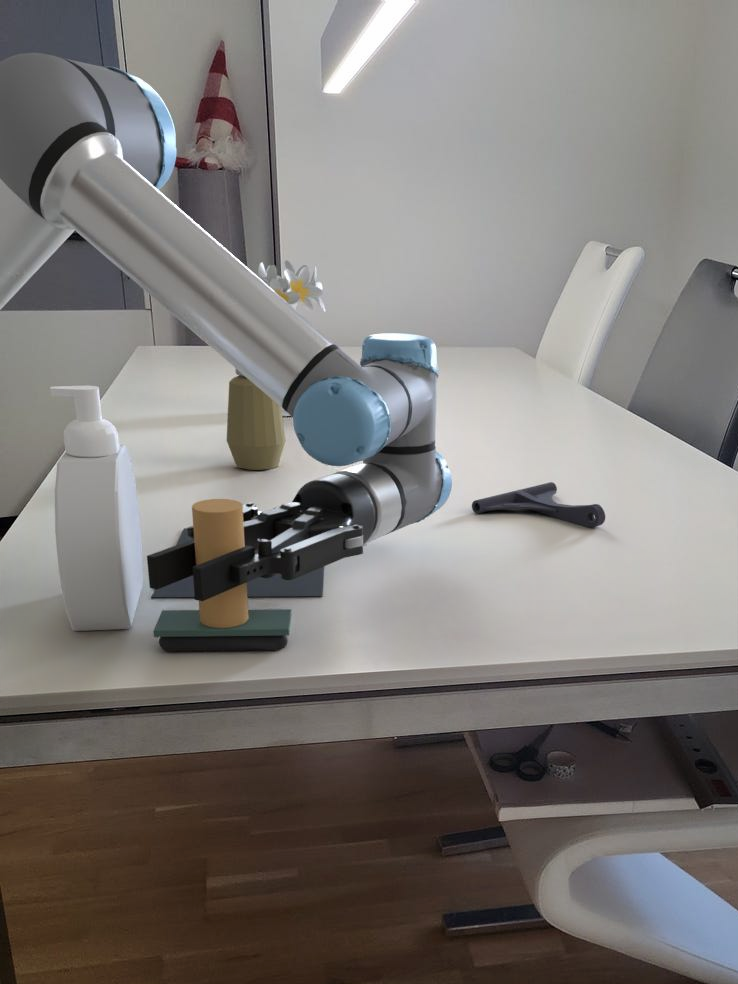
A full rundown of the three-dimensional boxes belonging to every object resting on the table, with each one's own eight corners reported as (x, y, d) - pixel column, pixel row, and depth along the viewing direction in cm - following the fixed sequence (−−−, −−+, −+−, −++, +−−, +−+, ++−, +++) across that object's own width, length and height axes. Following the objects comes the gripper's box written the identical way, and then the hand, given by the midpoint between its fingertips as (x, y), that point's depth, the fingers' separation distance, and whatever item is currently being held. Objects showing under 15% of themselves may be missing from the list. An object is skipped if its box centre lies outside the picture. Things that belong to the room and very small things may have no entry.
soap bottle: (89, 578, 102) (65, 372, 94) (145, 577, 103) (126, 372, 95) (62, 642, 87) (32, 405, 79) (128, 640, 88) (104, 405, 80)
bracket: (562, 540, 119) (564, 517, 118) (471, 511, 129) (472, 490, 127) (636, 519, 129) (639, 497, 128) (547, 494, 138) (548, 473, 137)
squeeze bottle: (258, 456, 151) (253, 329, 144) (298, 466, 147) (294, 335, 140) (215, 466, 145) (207, 333, 138) (255, 476, 140) (249, 339, 133)
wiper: (155, 655, 86) (142, 513, 81) (164, 633, 90) (152, 497, 85) (289, 653, 87) (284, 513, 82) (292, 632, 91) (287, 498, 87)
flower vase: (253, 425, 171) (246, 265, 161) (252, 404, 188) (245, 258, 178) (332, 424, 174) (330, 267, 164) (324, 404, 190) (321, 260, 180)
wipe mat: (151, 598, 98) (151, 597, 97) (183, 529, 118) (183, 528, 118) (322, 596, 100) (322, 595, 100) (325, 529, 120) (325, 528, 120)
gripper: (420, 563, 98) (262, 645, 79) (276, 532, 105) (100, 601, 86) (421, 486, 95) (258, 552, 76) (273, 460, 102) (90, 514, 83)
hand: (174, 578), depth 81 cm, fingers closed on wiper, 4 cm apart
